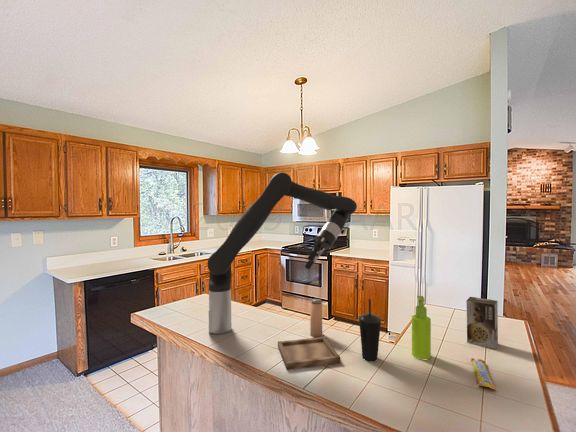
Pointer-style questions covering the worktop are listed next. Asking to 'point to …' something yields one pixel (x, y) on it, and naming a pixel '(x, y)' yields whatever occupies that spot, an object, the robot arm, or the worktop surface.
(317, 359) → the tray
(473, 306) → the coffee box
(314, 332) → the tan cylinder
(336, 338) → the worktop surface
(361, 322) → the drinking cup
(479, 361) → the candy bar
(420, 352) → the soap dispenser
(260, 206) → the robot arm
